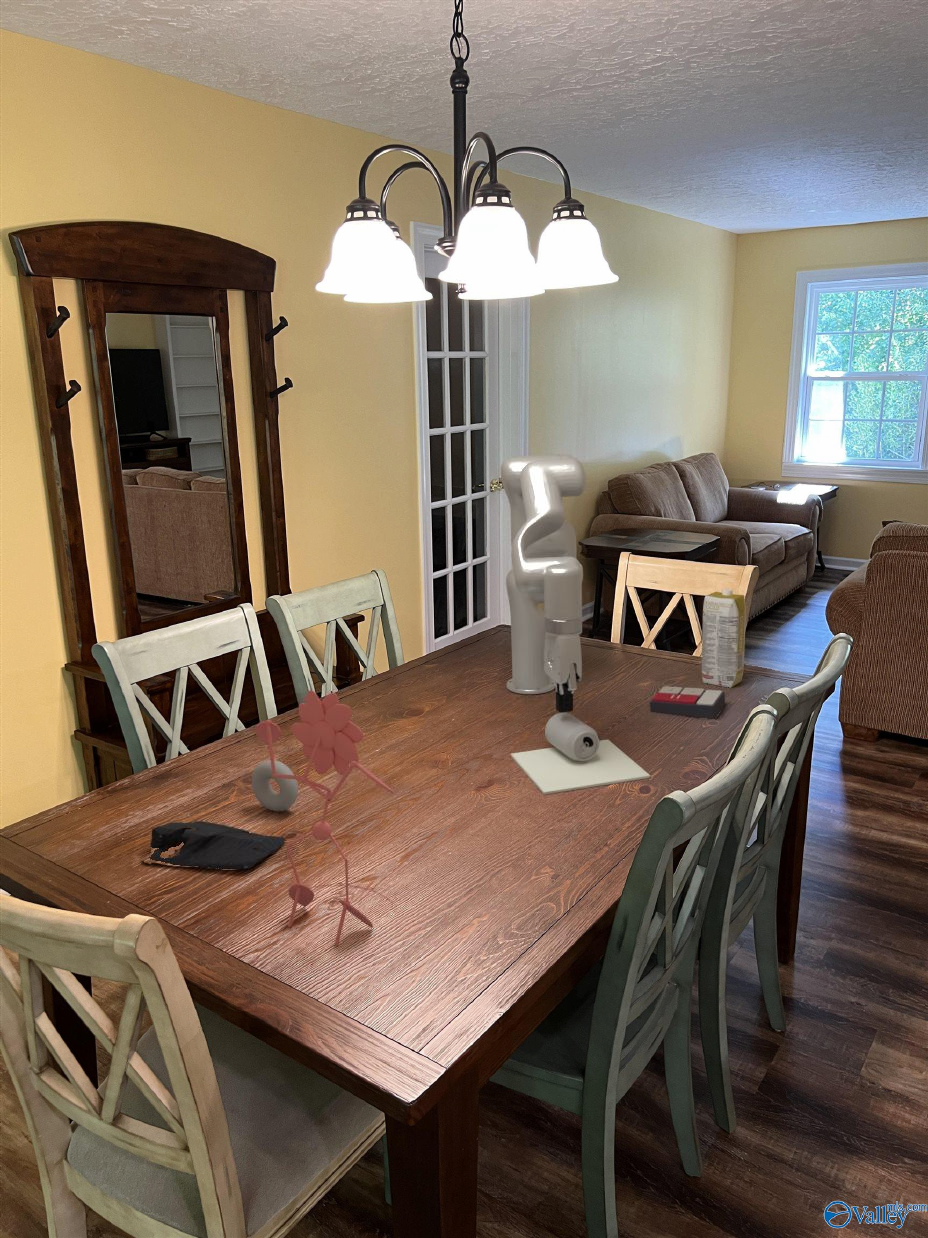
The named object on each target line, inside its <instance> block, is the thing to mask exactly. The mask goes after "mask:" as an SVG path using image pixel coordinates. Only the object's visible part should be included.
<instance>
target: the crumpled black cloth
mask: <svg viewBox="0 0 928 1238" xmlns="http://www.w3.org/2000/svg"><path fill="white" fill-rule="evenodd" d="M249 832H250V830H245V829H241V828H236V827H234V826H230V825H225V824H220V823H219V824H218V823H216V822H215V823H214V822H210V821H209V822H208V821H204V820H201V821H199V820H198V821H194V822H182V821H181V822H179V821H178V822H167V823H166V824H164V825H158V826H156V827H153V828H152V829H151V841H150V847H152V848H159V849H157V850H155V851H154V853H153V854H152V855H151V857H149V858H150V859H152V860H155V861H161V862H165V863H170V864H173V865H180V866H198V867H197V868H199V867H203V868H202V869H209V868H217V869H218V868H219V869H218V870H222V869H237V870H239V869H244V870H249V869H250V868H251V867H253V866H255V865H256V864H257V863H259V862H261V861H262V860H263V859H266V857H268V856H269V855H271V854H274V853H275V852H277V851H278V850H279V849H280V848H282V847H283V846H284V845H283V844H285V843H284V841H286V840H287V838H285V837H283V836H275V835H265V836H264V834H261V833H256V832H251V833H249ZM260 834H261V835H260ZM285 839H286V840H285ZM182 842H183V843H184V845H183V846H182V848H180V849H179V850H178V854H176V855H175V856H169V857H168V858H165V859H164V858H161V857H160V855H161V853H162V852H165V851H168V849H169V848H171V847H176V846H179V845H180V844H181V843H182ZM282 845H283V846H282ZM281 846H282V847H281ZM208 867H209V868H208ZM217 869H216V870H217Z"/></svg>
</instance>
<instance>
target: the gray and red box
mask: <svg viewBox="0 0 928 1238" xmlns="http://www.w3.org/2000/svg"><path fill="white" fill-rule="evenodd" d="M724 705H725V706H726V695H725V691H723V690H719V689H718V690H716V689H706V690H705V688H701V687H697V688H696V687H684V688H683V687H681V686H679V687H678V686H666V685H664V686H663V687H662V688H661V689H659V690H658V692H657V693H656V694H655V695H654V697H652V699H651V700H650V701H649V706H650V707H649V709H650V712H651V713H654V712H655V713H656V714H662V715H670V716H671V715H672V716H679V717H680V716H681V717H690V718H691V717H692V718H695V717H696V718H695V719H701V718H707V719H706V720H709V719H715V718H716V717H717V718H718V716H719V715H720V713H721V712H722V710H723V709H724V708H725V706H724ZM723 707H724V708H723ZM722 708H723V709H722ZM721 709H722V710H721ZM720 711H721V712H720ZM719 712H720V713H719ZM718 714H719V715H718ZM717 715H718V716H717ZM717 718H716V719H717ZM716 719H715V720H716Z"/></svg>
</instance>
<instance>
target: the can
mask: <svg viewBox="0 0 928 1238" xmlns="http://www.w3.org/2000/svg"><path fill="white" fill-rule="evenodd" d="M544 732H545V733H544V734H545V735H544V736H545V739H546V740H547V742H548V743H550V745H552V746H553V747H556V748H557V749H559V750H560V751H562V752H563V753H564V754H566V755H567V756H568V757H570V758H571V759H573V760H575V761H587V760H590V759H591V758H593V757H594V756H595V755H596V753H597V752H598V749H599V741H600V739H599V734H598V733H597V731H596V730H595V729H594V728H592V727H591V726H589V725H587V724H586V723H585V722H583V721H581V720H580V719H579V718H577V717H575V716H573V715H572V714H570V712H563V713H559V712H557V713H556V714H554V715H553V716H551V718H549V719H548V721H547V723H546V725H545V729H544Z"/></svg>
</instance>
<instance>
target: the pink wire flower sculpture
mask: <svg viewBox="0 0 928 1238" xmlns="http://www.w3.org/2000/svg"><path fill="white" fill-rule="evenodd" d="M298 713H299V718H300V720H301V722H300V721H299V722H295V723H292V725H291V728H290V730H291V733H292V735H293V736H294V737H295V739H296V740H297V741H298V742H299V743H301V744H302V749H301V751H302V755H303V756H304V757H305V758H308V759H309V761H308V763H307V765H306V767H305V770H304V772H303V775H295V774H294V775H283V774H275V773H276V771H275V763H274V760H275V755H274V754H275V753H274V747H273V743H274V742H277V741H278V740H280V737H281V735H282V730H281V728H280V727H279V725H278V724H277V723H275V722H272V721H271V719H266V720H262V721H260V722H259V723H258V724H256V725H255V729H254V733H255V735H256V737H257V738H258V739H259V740H260V741H262V742H263V743H264V744H265V745H268V748H269V749H268V750H269V760H271V769H272V774H274V775H273V778H285V779H296V780H299V783H301V784H305V785H307V787H309V788H310V789H312V790H313V791H314V792H316V793H317V794H318V795H319V796H321V797H322V798H323V799H325V803H324V808H323V813H322V814H323V815H322V820H320V821H317V822H316V823H314V825H313V827H312V832H309V833H306V834H305V835H304V836H301V837H299V838H297V839H295V840H294V841H292V842H290V843H287V844H286V851H287V853H288V857H289V860H290V863H291V866H292V869H293V872H294V876H295V877H294V878H295V880H296V883H293V884H291V885H290V887H289V888H288V892H287V893H288V896H289V897H290V898H291V900H292V901H293V903H292V907H291V911H290V915H289V920H288V924H287V927H288V928H292V926H293V923H294V919H295V914H296V909H297V905H298V904H299V905H300V906H302V907H307V906H308V905H310V904H311V903H312V902H313V901H314V898H315V893H314V891H313V889H312V888H318V887H329V886H331V884H326V885H325V884H323V885H320V884H319V885H315V886H309V885H306V884H304V883H302V882H301V881H300V878H299V874H298V872H297V868H296V865H295V861H294V858H293V855H292V850H291V848H290V846H292V845H294V844H297V843H298V842H300V841H302V840H305V839H306V838H309V837H310V836H313V837H314V839H316V840H318V841H325V840H327V839H328V838H330V839H331V841H332V842H333V844H334V846H335V847H336V848H337V850H338V852H339V853H340V855H341V857H342V859H343V860H344V867H345V871H344V872H345V873H344V874H345V875H344V876H345V884H343V882H337V885H341V886H345V900H344V899H341V898H340V899H339V901H338V902H339V904H340V905H341V906H342V911H341V915H340V919H339V924H338V928H337V932H336V936H335V941H334V946H336V947H337V946H339V944H340V938H341V935H342V931H343V925H344V922H345V918H346V913H347V911H348V912H349V913H350V914H351V915H352V916H354V917H355V918H356V919H358V920H359V921H361V922H362V923H364V924H366V926H368V927H369V928H371V929H372V928H374V925H373V923H372V922H371V921H370V919H369V918H368V917H367V916H366V915H365V914H363V912H361V910H359V909H357V908H356V907H355V906H353V905H352V904H351V901H349V887H355V888H361V889H365V890H369V891H372V892H374V893H376V894H378V895H380V896H382V897H384V898H386V899H388V901H389V902H391V903H392V904H393V903H394V902H393V901H392V900H391V899H389V897H387V896H385V895H384V894H382V893H381V892H378V891H376V890H375V888H373V887H370V886H367V885H365V887H363V886H357V885H351V884H349V863H348V858H347V857H346V855H345V854H344V852H343V850H342V849H341V847H340V846H339V844H338V842H337V840H336V839H335V837H334V836H333V834H332V826H331V825H330V824H329V823H328V822H327V821H326V816H327V813H328V808H329V804H330V803H331V802H332V800H333V798H335V796H336V794H338V791H339V790H340V789H341V787H342V786H343V784H344V783H345V781H346V780H347V778H348V777H349V775H351V772H352V771H353V770H354V768H357V769H358V770H359V771H361V772H362V773H363V774H365V775H366V776H367V777H368V778H369V779H371V780H372V781H373V782H374V783H376V784H377V785H379V786H380V787H382V788H383V789H384V790H385V791H387V792H389V793H391V794H393V795H394V793H395V791H394V790H393V789H392V788H390V787H389V786H388V785H387V784H386V783H385V782H383V781H382V780H381V779H379V778H378V777H377V776H376V775H375V774H373V773H372V772H370V771H369V770H368V769H366V768H365V767H364V766H363V765H361V764H360V763H359V760H360V756H359V752H358V749H357V747H356V745H355V744H357V743H361V742H362V741H364V736H365V735H364V733H363V732H362V730H361V728H360V727H359V725H357V724H355V723H354V722H353V721H351V718H352V717H353V710H352V708H351V707H350V706H349V705H347V704H345V703H344V704H343V703H340V700H339V696H338V695H337V693H336V692H330V693H328V694H327V695H325V697H324V698H323V699H322V700H320V698H319V696H318V694H317V693H316V692H315V691H314V690H308V691H307V693H306V695H305V699H304V702H301V703H300V704H299V705H298ZM312 765H313V767H314V771H315V772H316V774H318V775H321V776H322V775H324V774H326V773H328V771H329V770H330V769H331V768H334V770H335V771H336V773H338V774H339V775H340V776H341V778H340V780H339V781H338V783H337V784H336V786H335V787H334V789H333V791H332V790H331V788H330V787H328V786H326V785H323V784H320V783H317V782H315V781H311V780H309V779H308V776H309V773H310V770H311V768H312ZM332 766H333V767H332ZM321 790H324V791H326V793H324V792H323V791H321ZM367 887H368V888H367ZM372 956H374V953H372V954H370V955H369V956H366V957H364V958H362V961H364V960H366V959H368V958H370V957H372Z"/></svg>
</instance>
